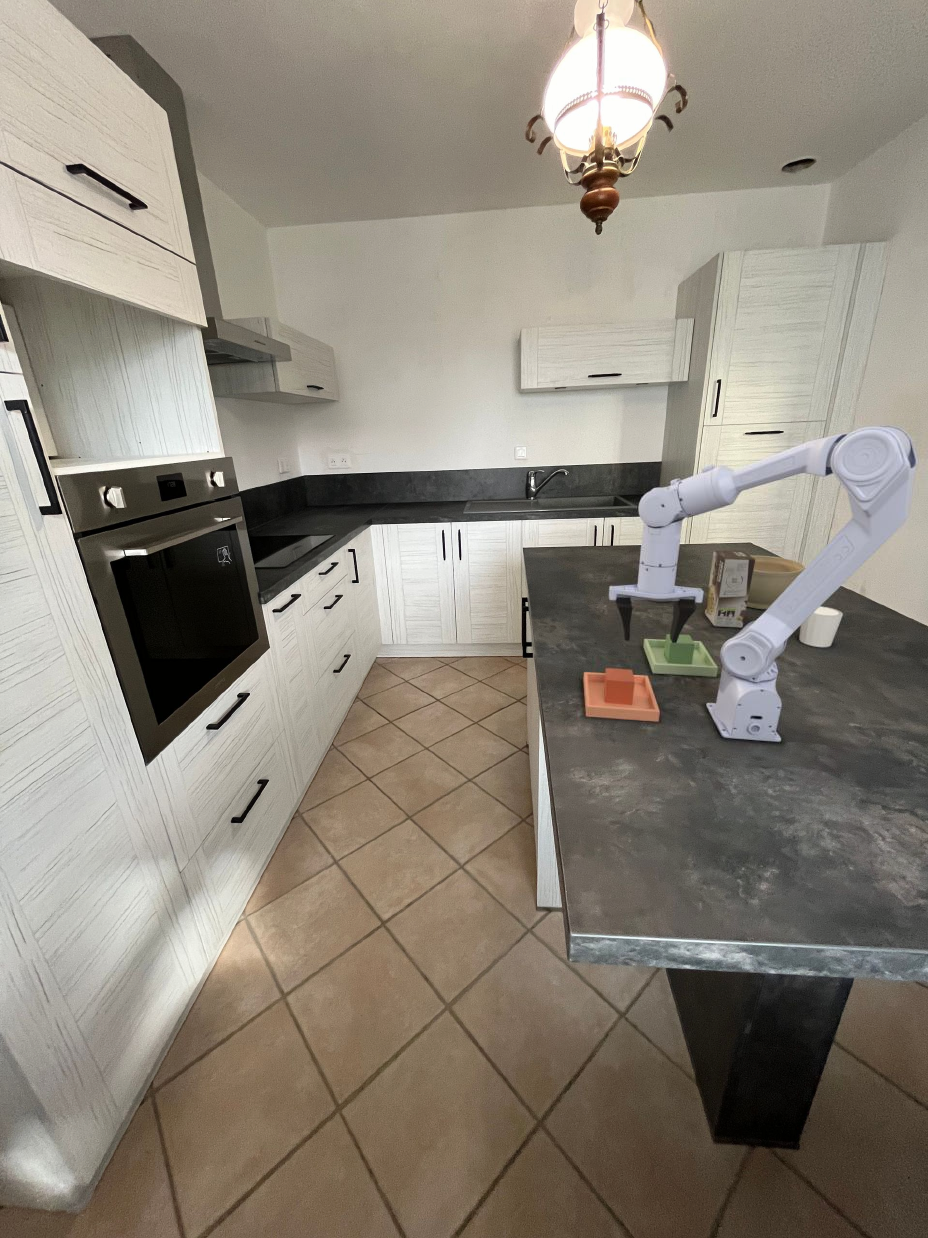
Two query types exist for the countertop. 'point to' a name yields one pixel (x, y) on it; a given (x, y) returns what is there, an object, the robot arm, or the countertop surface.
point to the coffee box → (729, 587)
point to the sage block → (679, 650)
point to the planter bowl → (771, 579)
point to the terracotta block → (619, 686)
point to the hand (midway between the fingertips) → (649, 639)
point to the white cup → (820, 627)
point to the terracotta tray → (639, 710)
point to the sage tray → (659, 664)
